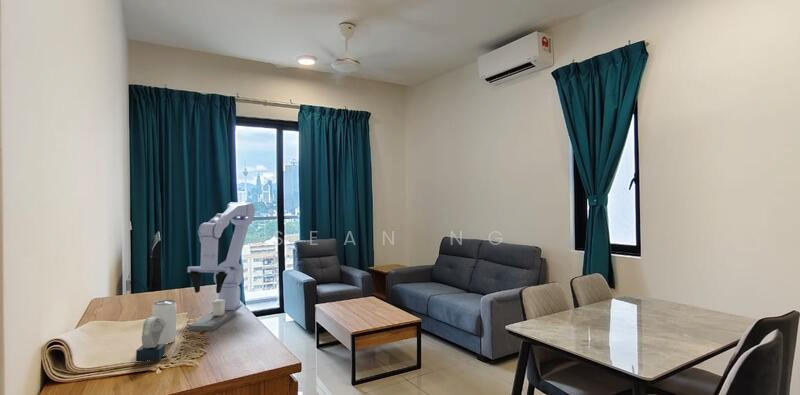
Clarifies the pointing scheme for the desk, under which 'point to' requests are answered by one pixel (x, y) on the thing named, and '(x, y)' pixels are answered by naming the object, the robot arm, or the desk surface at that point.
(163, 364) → the desk surface
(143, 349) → the grey statuette
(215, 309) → the fader tab
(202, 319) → the console
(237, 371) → the desk surface
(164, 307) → the can
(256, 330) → the desk surface
